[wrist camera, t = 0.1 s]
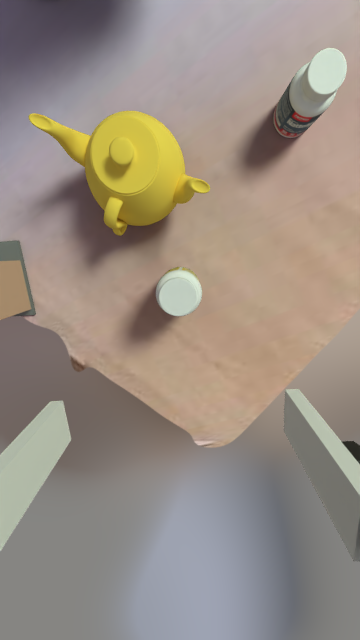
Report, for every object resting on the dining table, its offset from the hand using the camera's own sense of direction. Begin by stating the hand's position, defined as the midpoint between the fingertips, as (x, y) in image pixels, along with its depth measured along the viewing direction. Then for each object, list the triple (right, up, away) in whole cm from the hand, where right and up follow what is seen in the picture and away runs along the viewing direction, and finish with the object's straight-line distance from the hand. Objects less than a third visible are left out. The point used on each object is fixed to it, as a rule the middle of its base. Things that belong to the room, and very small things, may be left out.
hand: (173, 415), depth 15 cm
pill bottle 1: (0, +11, +26) cm, 28 cm away
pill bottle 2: (+16, +33, +20) cm, 42 cm away
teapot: (-6, +25, +23) cm, 34 cm away
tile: (-26, +11, +26) cm, 39 cm away
